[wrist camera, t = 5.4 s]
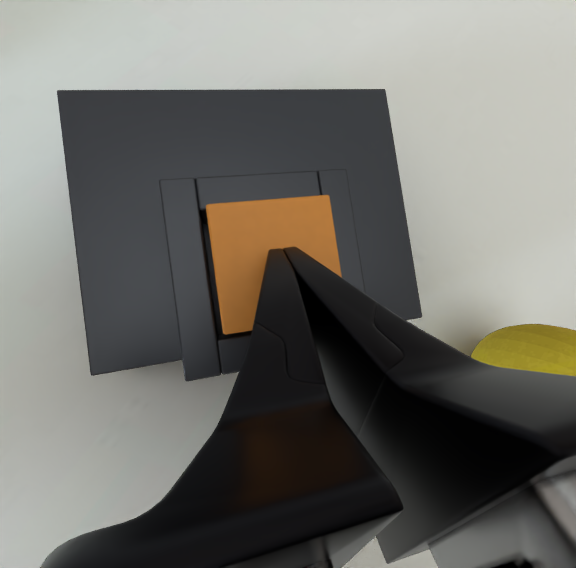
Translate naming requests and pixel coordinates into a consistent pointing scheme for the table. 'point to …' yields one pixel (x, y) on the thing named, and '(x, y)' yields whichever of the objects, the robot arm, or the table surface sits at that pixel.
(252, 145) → the push button
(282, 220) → the key
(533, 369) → the lemon
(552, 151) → the table surface
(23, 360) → the table surface
